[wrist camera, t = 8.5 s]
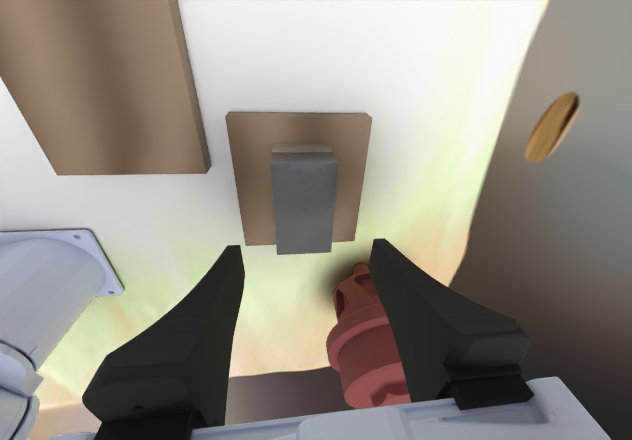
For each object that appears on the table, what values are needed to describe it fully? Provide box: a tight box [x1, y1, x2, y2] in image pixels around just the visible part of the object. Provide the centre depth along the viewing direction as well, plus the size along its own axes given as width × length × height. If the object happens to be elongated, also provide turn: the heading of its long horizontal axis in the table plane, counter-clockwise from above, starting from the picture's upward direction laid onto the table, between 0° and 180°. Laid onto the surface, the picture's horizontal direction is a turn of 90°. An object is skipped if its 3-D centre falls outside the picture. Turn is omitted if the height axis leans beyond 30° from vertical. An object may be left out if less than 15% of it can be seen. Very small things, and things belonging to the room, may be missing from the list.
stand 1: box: [0, 0, 211, 175], centre depth 16 cm, size 10×11×2 cm
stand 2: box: [225, 112, 372, 246], centre depth 21 cm, size 10×11×2 cm
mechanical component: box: [326, 263, 411, 409], centre depth 24 cm, size 12×10×10 cm
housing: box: [270, 143, 338, 255], centre depth 18 cm, size 4×7×4 cm, turn 178°
